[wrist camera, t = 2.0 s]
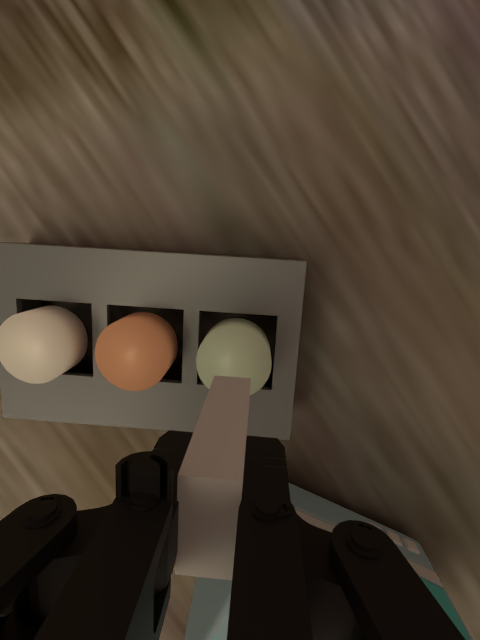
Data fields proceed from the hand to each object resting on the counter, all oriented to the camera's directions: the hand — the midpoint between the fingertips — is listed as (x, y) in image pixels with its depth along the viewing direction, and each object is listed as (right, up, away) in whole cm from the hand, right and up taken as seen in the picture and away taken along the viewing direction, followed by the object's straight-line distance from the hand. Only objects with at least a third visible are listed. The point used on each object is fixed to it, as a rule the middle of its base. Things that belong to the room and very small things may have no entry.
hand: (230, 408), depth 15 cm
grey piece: (-6, +3, +13) cm, 14 cm away
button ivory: (-12, +2, +9) cm, 15 cm away
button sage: (0, +2, +9) cm, 9 cm away
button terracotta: (-6, +2, +9) cm, 11 cm away
